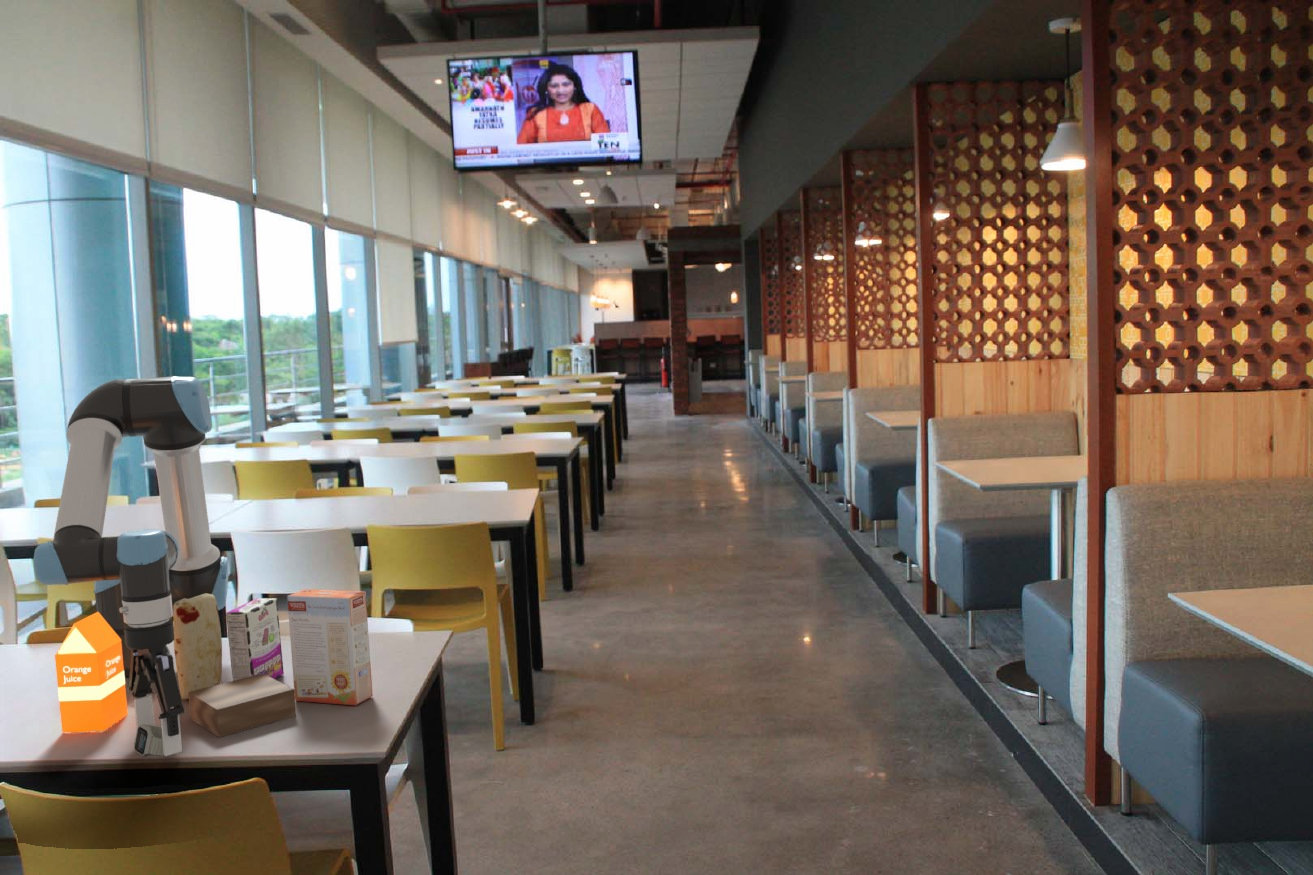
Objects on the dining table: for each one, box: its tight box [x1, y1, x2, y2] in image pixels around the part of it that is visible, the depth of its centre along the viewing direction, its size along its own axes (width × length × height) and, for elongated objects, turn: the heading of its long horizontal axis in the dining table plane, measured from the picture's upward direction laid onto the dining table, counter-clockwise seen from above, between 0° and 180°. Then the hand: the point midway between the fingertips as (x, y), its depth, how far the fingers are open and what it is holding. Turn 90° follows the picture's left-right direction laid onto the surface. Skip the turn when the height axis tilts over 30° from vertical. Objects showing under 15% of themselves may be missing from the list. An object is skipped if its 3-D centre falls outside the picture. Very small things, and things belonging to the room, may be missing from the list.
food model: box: [172, 593, 223, 700], centre depth 206 cm, size 10×7×20 cm
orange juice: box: [54, 611, 129, 733], centre depth 193 cm, size 8×9×20 cm
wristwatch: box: [133, 724, 164, 757], centre depth 180 cm, size 9×6×5 cm
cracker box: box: [286, 588, 373, 706], centre depth 201 cm, size 14×6×21 cm, turn 71°
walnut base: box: [188, 673, 297, 738], centre depth 194 cm, size 14×14×5 cm
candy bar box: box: [225, 597, 285, 681], centre depth 212 cm, size 11×5×16 cm, turn 169°
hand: (159, 743), depth 180 cm, fingers open, 13 cm apart
